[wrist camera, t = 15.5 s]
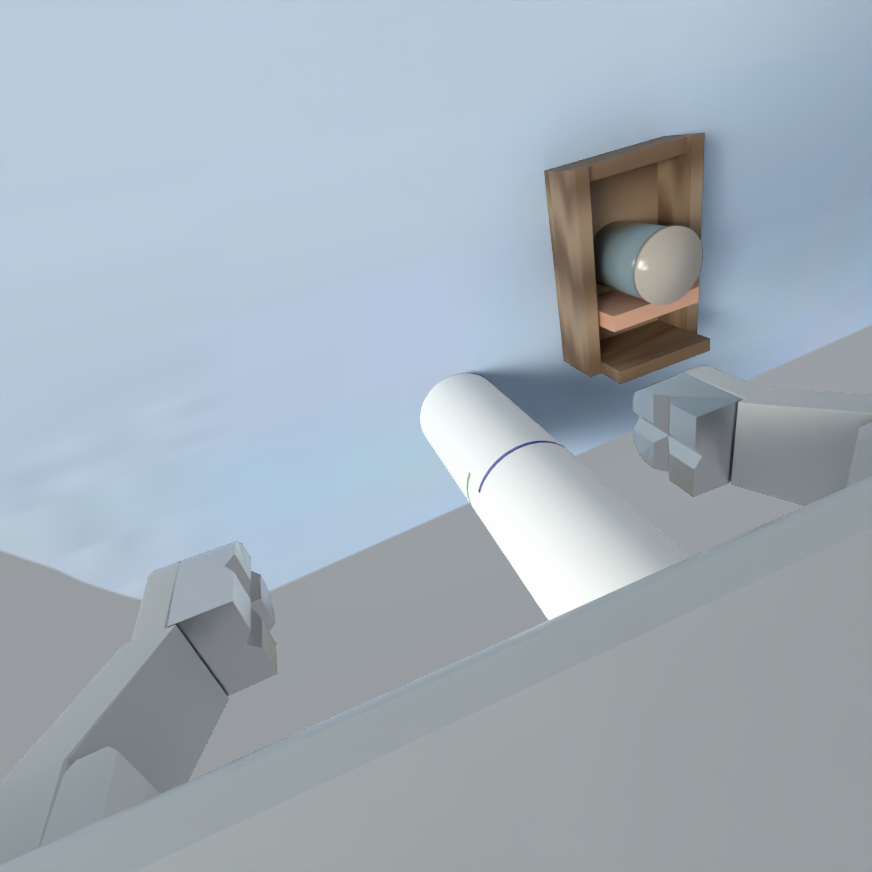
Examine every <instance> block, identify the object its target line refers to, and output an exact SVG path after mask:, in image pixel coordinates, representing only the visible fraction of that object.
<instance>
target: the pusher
mask: <svg viewBox="0 0 872 872" xmlns="http://www.w3.org/2000/svg"><path fill="white" fill-rule="evenodd" d="M698 302H699V287H698V286H694V285H693V286H692V287H691V288H690V290H689V291H688V292H687V293H686V294H685V295H684V296H683V297H681V298H680V299H679V300H677V301H675V302H673V303H670V304H667V305H655V304H652V303H649V302H647V301H645V300H643V299H641V298H638V297H635V296H632V295H629V294H625V293H622V292H619V291H616V290H613V291H610V292H607V293H605V294H602V295H599V296H597V308H598V324H599V326H601V327H603V328H606V329H608V330H610V331H612V332H616V331H619V330H622V329H624V328H627V327H630V326H633V325H636V324H639V323H641V322H644V321H647V320H650V319H653V318H655V317H658V316H661V315H664V314H667V313H670V312H672V311H675V310H678V309H681V308H684V307H686V306H689V305H692V304H695V303H698Z"/></svg>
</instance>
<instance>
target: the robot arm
mask: <svg viewBox="0 0 872 872" xmlns="http://www.w3.org/2000/svg"><path fill="white" fill-rule="evenodd" d="M633 411H634V412H635V413H636V414H637V415H638V416H639V419H638V421H637V423H636V425H635V427H634V429H633V432H634V443H635V445H636V448H637V450H638V452H639V455H640V456H641V457H642V458H643V460H644V461H645V462H646V463H647V464H648V465H650V466H651V467H652V468H654V469H658V470H663V471H668V474H669V480H670V481H671V482H673V483H674V484H676V485H677V486H679V487H680V488H681V489H683V490H684V491H685V492H687V493H688V494H690V495H691V496H692V497H695V496H697V495H700V494H702V493H705V492H708V491H710V490H713V489H715V488H718V487H720V486H723V485H725V484H728V483H731V485H735V486H738V487H741V488H745V489H748V490H752V491H755V492H759V493H762V494H766V495H769V496H772V497H776V498H779V499H782V500H786V501H789V502H793V503H796V504H799V505H803V506H804V507H802V508H799V509H797V510H795V511H793V512H791V513H788V514H786V515H784V516H782V517H779V518H777V519H775V520H773V521H770V522H768V523H766V524H763V525H761V526H759V527H757V528H755V529H752V530H750V531H748V532H746V533H743V534H741V535H739V536H737V537H734V538H732V539H730V540H727V541H725V542H723V543H721V544H718V545H716V546H714V547H712V548H710V549H707V550H705V551H703V552H701V553H698V554H696V555H694V556H691V557H689V558H687V559H685V560H682V561H680V562H678V563H676V564H673V565H671V566H669V567H667V568H664V569H662V570H660V571H658V572H655V573H653V574H651V575H649V576H646V577H644V578H642V579H640V580H637V581H635V582H633V583H631V584H628V585H626V586H624V587H622V588H620V589H617V590H615V591H613V592H611V593H608V594H606V595H604V596H602V597H599V598H597V599H595V600H593V601H590V602H588V603H586V604H584V605H582V606H579V607H577V608H575V609H573V610H570V611H568V612H566V613H564V614H561V615H559V616H557V617H555V618H553V619H550V620H548V621H546V622H544V623H541V624H539V625H537V626H535V627H532V628H530V629H528V630H526V631H523V632H521V633H519V634H517V635H515V636H512V637H510V638H508V639H506V640H504V641H501V642H499V643H497V644H495V645H492V646H490V647H488V648H485V649H483V650H481V651H479V652H477V653H474V654H472V655H470V656H468V657H465V658H463V659H461V660H459V661H456V662H454V663H452V664H450V665H448V666H445V667H443V668H441V669H439V670H436V671H434V672H432V673H430V674H427V675H425V676H423V677H421V678H418V679H416V680H414V681H412V682H409V683H407V684H405V685H403V686H401V687H398V688H396V689H394V690H392V691H389V692H387V693H385V694H383V695H380V696H378V697H376V698H374V699H371V700H369V701H367V702H365V703H363V704H360V705H358V706H356V707H354V708H351V709H349V710H347V711H344V712H342V713H340V714H338V715H335V716H333V717H331V718H329V719H327V720H324V721H322V722H320V723H318V724H315V725H313V726H311V727H309V728H306V729H304V730H302V731H300V732H298V733H296V734H293V735H291V736H289V737H286V738H284V739H282V740H280V741H277V742H275V743H273V744H271V745H269V746H266V747H264V748H262V749H259V750H257V751H255V752H253V753H251V754H248V755H246V756H244V757H241V758H239V759H237V760H235V761H232V762H230V763H228V764H226V765H224V766H221V767H219V768H217V769H215V770H213V771H210V772H208V773H206V774H204V775H201V776H199V777H197V778H194V779H192V780H190V781H188V780H189V778H190V776H191V774H192V772H193V770H194V768H195V766H196V764H197V762H198V760H199V758H200V756H201V754H202V752H203V750H204V748H205V746H206V744H207V742H208V740H209V738H210V736H211V734H212V732H213V730H214V728H215V726H216V724H217V722H218V720H219V718H220V716H221V714H222V712H223V710H224V708H225V706H226V704H227V702H228V700H229V698H228V696H229V695H231V694H234V693H236V692H238V691H240V690H242V689H245V688H247V687H249V686H251V685H253V684H255V683H258V682H260V681H262V680H264V679H267V678H269V677H271V676H273V675H275V674H277V654H276V642H275V641H274V639H273V637H272V635H271V633H270V630H271V629H272V627H273V626H274V624H275V618H274V610H273V605H272V601H271V598H270V594H269V592H268V589H267V587H266V584H265V582H264V581H263V579H262V577H261V575H260V574H257V573H255V572H253V571H251V557H250V555H249V554H248V552H247V550H246V549H245V547H244V545H243V544H242V543H240V542H239V541H235V542H233V543H230V544H227V545H224V546H221V547H219V548H216V549H213V550H210V551H207V552H205V553H202V554H199V555H196V556H193V557H190V558H188V559H185V560H183V561H179V562H176V563H174V564H171V565H168V566H166V567H163V568H161V569H158V570H155V571H153V572H152V573H151V574H150V575H149V576H148V579H147V583H146V587H145V591H144V595H143V599H142V602H141V607H140V610H139V614H138V618H137V622H136V626H135V630H134V633H133V637H132V641H131V642H130V643H128V644H125V645H123V646H121V647H120V649H119V650H118V651H117V652H116V653H115V654H114V655H113V656H112V657H111V659H110V660H109V661H108V662H107V663H106V664H105V665H104V667H103V668H102V669H101V670H100V671H99V672H98V673H97V674H96V675H95V677H94V678H93V679H92V680H91V681H90V682H89V683H88V684H87V686H86V687H85V688H84V689H83V690H82V691H81V692H80V693H79V695H78V696H77V697H76V698H75V699H74V700H73V701H72V702H71V704H70V705H69V706H68V707H67V708H66V709H65V710H64V711H63V713H62V714H61V715H60V716H59V717H58V718H57V719H56V720H55V722H54V723H53V724H52V725H51V726H50V727H49V728H48V730H47V731H46V732H45V733H44V734H43V735H42V736H41V737H40V739H39V740H38V741H37V742H36V743H35V744H34V745H33V746H32V748H31V749H30V750H29V751H28V752H27V753H26V754H25V756H24V757H23V758H22V759H21V760H20V761H19V762H18V763H17V764H16V766H15V767H14V768H13V769H12V770H11V771H10V772H9V773H8V774H7V776H6V777H5V778H4V779H3V780H2V781H1V782H0V872H872V394H859V393H845V392H830V391H815V390H800V389H784V388H772V389H769V390H765V389H763V388H760V387H758V386H755V385H753V384H751V383H748V382H746V381H744V380H741V379H739V378H736V377H734V376H731V375H729V374H727V373H724V372H722V371H719V370H717V369H714V368H712V367H710V366H707V365H699V366H696V367H694V368H691V369H689V370H687V371H684V372H682V373H679V374H678V375H676V376H673V377H671V378H668V379H666V380H663V381H661V382H658V383H656V384H653V385H651V386H648V387H646V388H643V389H641V390H638V391H635V394H634V397H633Z"/></svg>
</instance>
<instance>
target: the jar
mask: <svg viewBox="0 0 872 872" xmlns="http://www.w3.org/2000/svg"><path fill="white" fill-rule="evenodd" d="M593 245H594V261H595V276H596V283H597V284H599V285H601V286H604V287H607V288H610V289H613V290H616V291H619V292H622V293H625V294H629V295H632V296H635V297H638V298H641V299H643V300H645V301H647V302H649V303H652V304H655V305H667V304H670V303H673V302H675V301H677V300H679V299H680V298H681V297H683V296H684V295H685V294H686V293H687V292H688V291H689V290H690V288H691V287H692V286H693V284H694V283H695V281H696V279H697V277H698V275H699V273H700V270H701V266H702V260H703V249H702V244H701V241H700V239H699V237H698V236H697V234H696V233H695V232H694V231H693V230H691V229H689V228H687V227H684V226H676V225H673V226H662V225H654V224H645V223H637V222H629V221H614V222H611V223H609V224H607V225H605V226H604V227H603V228H601V229H600V230H599V231H598V232H597V234H596V235H595V236H594V238H593Z"/></svg>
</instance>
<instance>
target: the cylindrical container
mask: <svg viewBox="0 0 872 872" xmlns="http://www.w3.org/2000/svg"><path fill="white" fill-rule="evenodd" d="M420 421H421V427H422V431H423V433H424V435H425V436H426V438H427V440H428V441H429V443H430V444H431V445H432V447H433V448H434V450H435V451H436V453H437V454H438V456H439V457H440V459H441V460H442V462H443V463H444V465H445V466H446V468H447V469H448V471H449V472H450V474H451V475H452V477H453V478H454V480H455V481H456V483H457V484H458V486H459V487H460V489H461V490H462V492H463V493H464V495H465V496H466V498H467V499H468V501H469V502H470V504H471V505H472V507H473V508H474V509H475V511H476V512H477V514H478V516H479V517H480V518H481V520H482V522H483V523H484V524H485V526H486V527H487V529H488V530H489V532H490V534H491V535H492V537H493V538H494V540H495V541H496V543H497V544H498V546H499V547H500V549H501V550H502V552H503V553H504V555H505V556H506V558H507V559H508V560H509V562H510V563H511V565H512V566H513V568H514V569H515V571H516V572H517V574H518V575H519V577H520V578H521V580H522V581H523V583H524V584H525V586H526V587H527V589H528V590H529V592H530V593H531V595H532V596H533V598H534V599H535V601H536V602H537V603H538V605H539V607H540V608H541V610H542V611H543V613H544V614H545V616H546V617H547V619H548V620H550V619H553V618H555V617H557V616H559V615H561V614H564V613H566V612H568V611H570V610H573V609H575V608H577V607H579V606H582V605H584V604H586V603H588V602H590V601H593V600H595V599H597V598H599V597H602V596H604V595H606V594H608V593H611V592H613V591H615V590H617V589H620V588H622V587H624V586H626V585H628V584H631V583H633V582H635V581H637V580H640V579H642V578H644V577H646V576H649V575H651V574H653V573H655V572H658V571H660V570H662V569H664V568H667V567H669V566H671V565H673V564H676V563H678V562H680V561H682V560H685V559H687V558H689V557H690V556H689V555H688V554H687V553H686V552H685V551H684V550H682V549H681V548H680V547H679V546H678V545H676V544H675V543H674V542H673V541H672V540H671V539H670V538H669V537H667V536H666V535H665V534H664V533H663V532H661V531H660V530H659V529H658V528H657V527H656V526H655V525H654V524H652V523H651V522H650V521H649V520H648V519H647V518H646V517H644V516H643V515H642V514H641V513H640V512H638V511H637V510H636V509H635V508H634V507H633V506H632V505H631V504H629V503H628V502H627V501H626V500H625V499H624V498H623V497H621V496H620V495H619V494H618V493H617V492H616V491H614V490H613V489H612V488H611V487H610V486H609V485H608V484H606V483H605V482H604V481H603V480H602V479H601V478H599V477H598V476H597V475H596V474H595V473H594V472H593V471H591V470H590V469H589V468H588V467H587V466H586V465H585V464H583V463H582V462H581V461H580V460H579V459H578V458H577V457H575V456H574V455H573V454H572V453H571V452H569V451H568V450H567V449H566V448H565V447H564V446H563V445H562V444H560V443H559V442H558V441H557V440H556V439H555V438H553V437H552V436H551V435H550V434H549V433H548V432H547V431H545V430H544V429H543V428H542V427H541V426H540V425H539V424H537V423H536V422H535V421H534V420H533V419H532V418H530V417H529V416H528V415H527V414H526V413H525V412H524V411H522V410H521V409H520V408H519V407H518V406H517V405H516V404H514V403H513V402H512V401H511V400H510V399H509V398H507V397H506V396H505V395H504V394H503V393H502V392H501V391H499V390H498V389H497V388H496V387H495V386H494V385H493V384H491V383H490V382H489V381H488V380H486V379H485V378H483V377H481V376H479V375H476V374H471V373H462V374H456V375H453V376H450V377H447V378H446V379H444V380H442V381H441V382H439V383H438V384H437V385H436V386H435V387H434V388H433V389H432V390H431V391H430V392H429V394H428V395H427V397H426V399H425V400H424V403H423V405H422V408H421V415H420Z"/></svg>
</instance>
